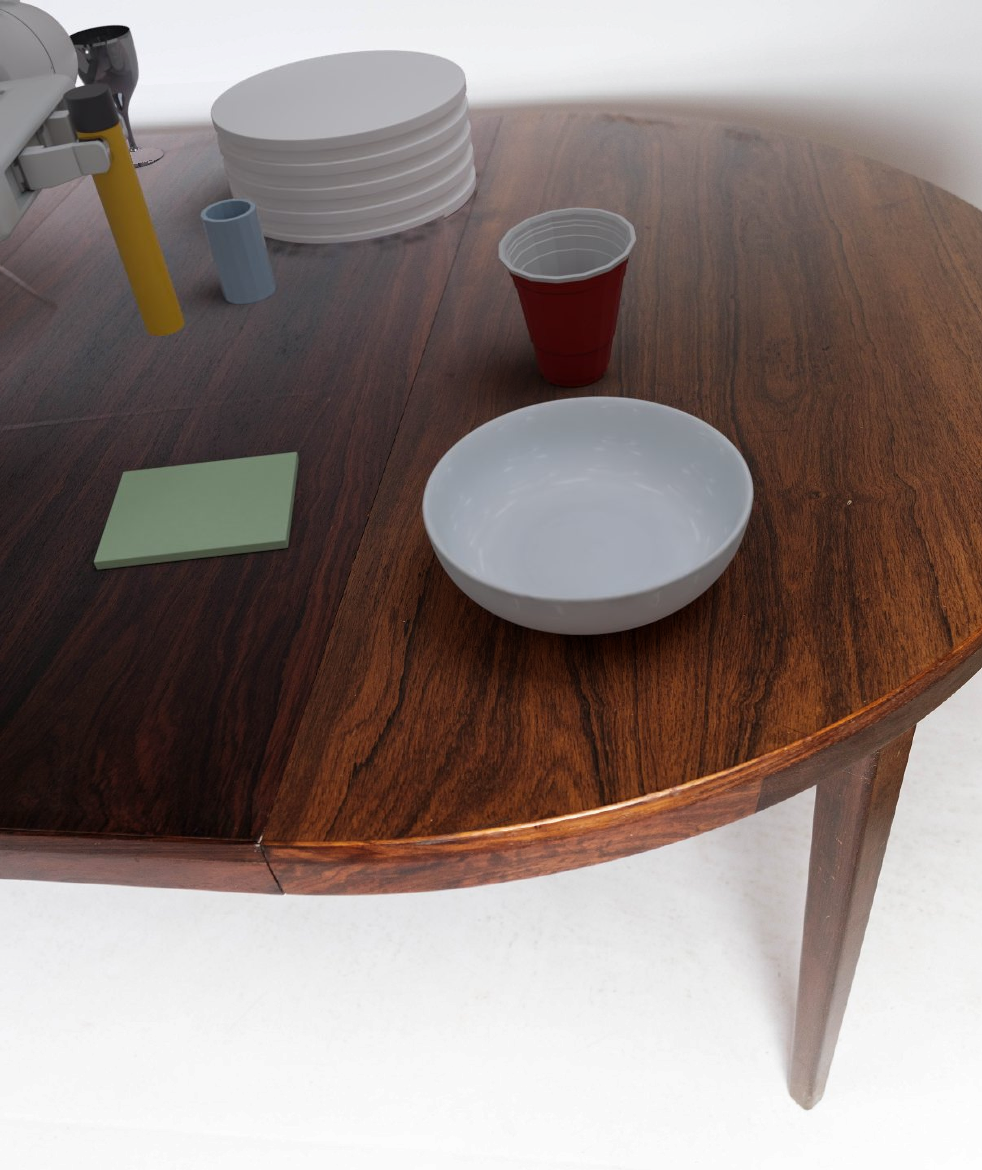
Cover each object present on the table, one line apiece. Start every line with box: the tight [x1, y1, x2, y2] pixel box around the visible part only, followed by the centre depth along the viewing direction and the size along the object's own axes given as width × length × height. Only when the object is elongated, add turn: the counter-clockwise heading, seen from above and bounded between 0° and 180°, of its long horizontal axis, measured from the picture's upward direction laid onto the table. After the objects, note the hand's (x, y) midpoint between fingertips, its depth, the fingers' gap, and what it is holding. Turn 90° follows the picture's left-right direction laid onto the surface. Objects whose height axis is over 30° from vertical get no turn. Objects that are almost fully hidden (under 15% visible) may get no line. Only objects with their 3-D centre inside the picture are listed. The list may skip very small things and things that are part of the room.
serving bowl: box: [421, 396, 754, 636], centre depth 69 cm, size 21×21×7 cm
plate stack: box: [210, 49, 477, 244], centre depth 119 cm, size 28×28×12 cm
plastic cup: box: [498, 207, 637, 388], centre depth 86 cm, size 11×11×12 cm
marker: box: [63, 84, 185, 337], centre depth 69 cm, size 3×3×16 cm
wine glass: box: [69, 24, 157, 169], centre depth 134 cm, size 8×8×15 cm
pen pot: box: [199, 198, 277, 305], centre depth 103 cm, size 5×5×9 cm
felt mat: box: [93, 451, 300, 571], centre depth 80 cm, size 14×11×1 cm
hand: (116, 141), depth 66 cm, fingers closed on marker, 3 cm apart
